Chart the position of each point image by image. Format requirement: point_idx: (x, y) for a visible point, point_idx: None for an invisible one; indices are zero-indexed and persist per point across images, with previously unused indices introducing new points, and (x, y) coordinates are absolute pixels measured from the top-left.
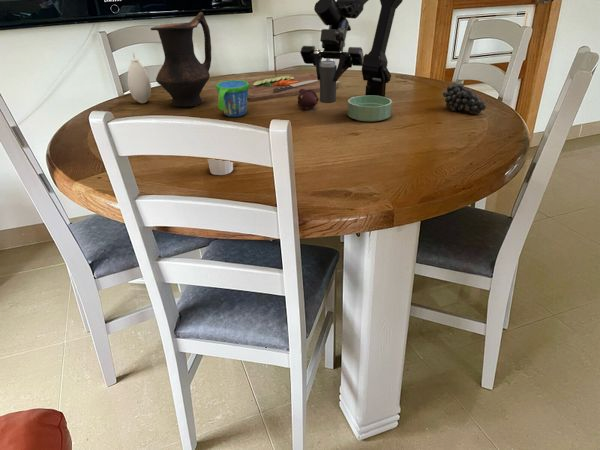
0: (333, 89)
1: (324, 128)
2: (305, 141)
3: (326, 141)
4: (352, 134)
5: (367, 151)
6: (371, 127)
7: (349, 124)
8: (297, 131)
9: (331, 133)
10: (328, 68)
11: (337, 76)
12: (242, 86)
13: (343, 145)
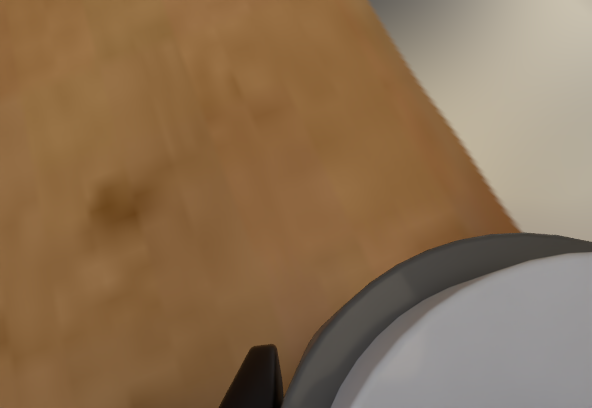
0: (303, 354)
1: (327, 242)
2: (334, 17)
3: (233, 53)
4: (131, 201)
5: (8, 9)
6: (42, 375)
7: (200, 384)
8: (453, 133)
9: (252, 173)
10: (412, 261)
11: (228, 402)
12: None
13: (134, 35)
